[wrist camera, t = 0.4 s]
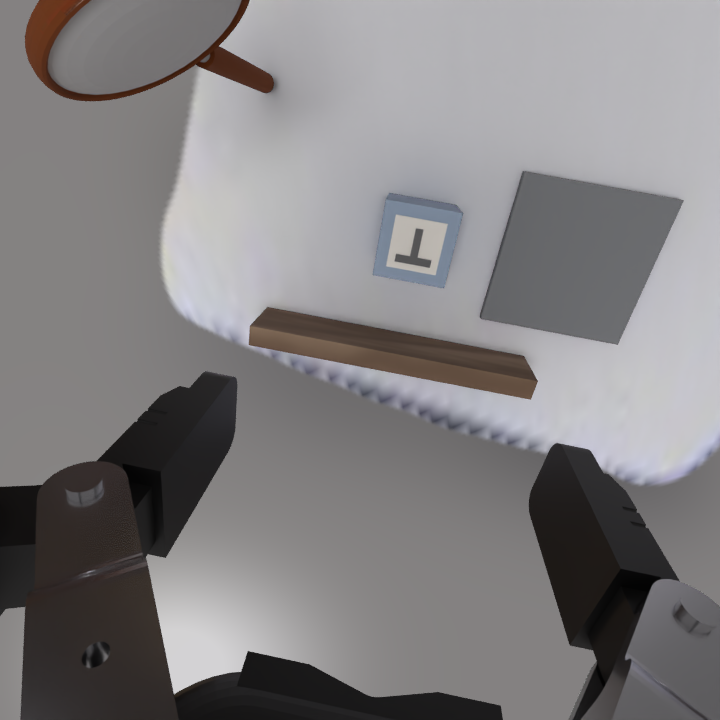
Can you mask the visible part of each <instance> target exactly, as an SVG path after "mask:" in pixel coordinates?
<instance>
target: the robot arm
mask: <svg viewBox="0 0 720 720" xmlns="http://www.w3.org/2000/svg"><path fill="white" fill-rule="evenodd" d="M236 401H237V380H236V378H235V377H232V376H227V375H222V374H217V373H212V372H207V371H205V372H204V373H202V375H201V376H200V377H199V378H198V379H197V380H196V381H195V382H194V383H193V385H192V386H191V387H190V388H186V387H181V386H179V387H177V388H175V389H173V390H171V391H169V392H167V393H165V394H163V395H161V396H160V397H159V398H158V399H157V400H156V401H155V402H154V403H153V404H152V405H151V406H150V407H149V408H148V411H145V412H144V413H143V414H142V415H141V416H140V417H139V418H138V421H137V422H134V423H133V424H132V426H130V428H128V430H126V432H125V433H124V434H123V435H122V436H121V437H120V438H119V439H118V440H117V441H116V442H115V443H114V444H113V445H112V446H111V447H110V448H109V449H108V450H107V451H106V452H105V453H104V454H103V455H102V456H101V457H100V458H99V459H98V460H97V461H92V462H91V461H90V462H83V463H79V464H75V465H72V466H69V467H67V468H64V469H63V470H60V471H59V472H57V473H55V474H54V475H52V476H51V477H50V478H49V479H47V480H46V481H45V482H44V483H43V485H36V486H12V487H0V615H1V614H2V613H3V612H4V610H5V609H8V608H17V607H25V622H24V646H23V671H22V694H21V718H20V720H503V718H502V712H501V706H499V705H495V704H490V703H486V702H481V701H476V700H472V699H467V698H462V697H458V696H453V695H449V694H444V693H439V692H435V693H424V694H412V695H401V696H390V697H371V696H368V695H365V694H363V693H362V692H360V691H358V690H356V689H354V688H352V687H350V686H349V685H347V684H345V683H343V682H341V681H339V680H337V679H336V678H334V677H332V676H330V675H328V674H326V673H324V672H322V671H321V670H319V669H317V668H315V667H313V666H311V665H309V664H305V663H300V662H296V661H291V660H286V659H282V658H277V657H272V656H268V655H263V654H259V653H254V652H249V651H248V653H247V656H246V659H245V662H244V665H243V669H242V671H241V672H235V673H227V674H223V675H219V676H214V677H211V678H208V679H205V680H202V681H200V682H197V683H195V684H193V685H191V686H189V687H187V688H185V689H183V690H181V691H179V692H177V693H176V694H174V693H173V688H172V683H171V678H170V673H169V668H168V663H167V658H166V653H165V648H164V644H163V638H162V633H161V629H160V623H159V618H158V614H157V608H156V604H155V599H154V594H153V589H152V584H151V579H150V574H149V569H148V565H147V560H146V556H147V554H150V555H155V556H160V557H165V558H166V556H167V555H168V553H169V551H170V550H171V548H172V546H173V545H174V543H175V541H176V539H177V538H178V536H179V534H180V533H181V531H182V529H183V528H184V526H185V524H186V523H187V521H188V519H189V517H190V516H191V514H192V512H193V511H194V509H195V507H196V506H197V504H198V502H199V500H200V499H201V497H202V495H203V494H204V492H205V490H206V489H207V487H208V485H209V483H210V481H211V480H212V478H213V477H214V475H215V473H216V471H217V470H218V468H219V466H220V465H221V463H222V461H223V459H224V458H225V456H226V455H227V453H228V451H229V449H230V447H231V444H232V441H233V438H234V433H235V422H236ZM636 511H637V509H636V507H635V506H634V504H633V502H632V501H631V499H630V497H629V495H628V494H627V492H626V491H625V490H624V489H623V488H622V487H621V486H620V485H619V484H618V483H617V482H616V481H615V480H614V479H613V478H612V477H611V476H610V475H609V474H604V473H603V472H602V470H601V468H600V466H599V465H598V463H597V461H596V459H595V458H594V456H593V454H592V453H591V451H590V450H588V449H583V448H579V447H574V446H569V445H564V444H559V443H556V444H554V445H553V446H552V447H551V449H550V451H549V453H548V455H547V457H546V459H545V462H544V464H543V466H542V468H541V470H540V472H539V474H538V477H537V479H536V481H535V483H534V485H533V487H532V490H531V493H530V498H529V513H530V516H531V520H532V523H533V527H534V530H535V533H536V536H537V540H538V543H539V546H540V550H541V552H542V556H543V559H544V563H545V566H546V569H547V572H548V575H549V579H550V582H551V585H552V589H553V592H554V595H555V599H556V602H557V605H558V608H559V612H560V615H561V618H562V621H563V625H564V628H565V631H566V634H567V638H568V641H569V644H570V645H571V646H576V647H580V648H585V649H590V650H593V651H594V654H595V657H596V660H597V661H596V663H595V664H594V665H593V667H592V668H591V670H590V672H589V674H588V676H587V678H586V681H585V683H584V685H583V687H582V690H581V692H580V694H579V696H578V699H577V701H576V703H575V705H574V708H573V710H572V712H571V715H570V717H569V719H568V720H720V606H719V605H718V604H716V603H715V602H714V601H713V600H712V599H710V598H709V597H708V596H706V595H705V594H704V593H702V592H701V591H699V590H697V589H695V588H693V587H691V586H690V585H687V584H685V583H682V582H680V581H679V579H678V578H677V576H676V574H675V573H674V571H673V569H672V567H671V566H670V564H669V563H668V561H667V559H666V558H665V556H664V555H663V552H662V551H661V549H660V547H659V546H658V544H657V542H656V541H655V539H654V537H653V536H652V534H651V532H650V531H649V529H648V528H646V527H645V526H646V524H645V522H644V521H643V519H642V517H641V516H640V514H639V513H637V512H636Z"/></svg>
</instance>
